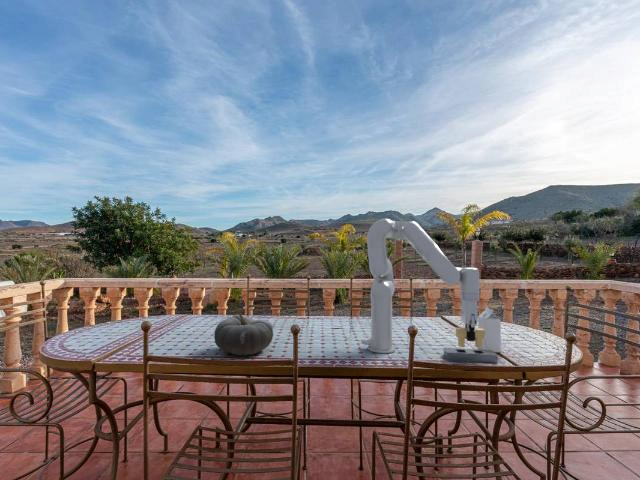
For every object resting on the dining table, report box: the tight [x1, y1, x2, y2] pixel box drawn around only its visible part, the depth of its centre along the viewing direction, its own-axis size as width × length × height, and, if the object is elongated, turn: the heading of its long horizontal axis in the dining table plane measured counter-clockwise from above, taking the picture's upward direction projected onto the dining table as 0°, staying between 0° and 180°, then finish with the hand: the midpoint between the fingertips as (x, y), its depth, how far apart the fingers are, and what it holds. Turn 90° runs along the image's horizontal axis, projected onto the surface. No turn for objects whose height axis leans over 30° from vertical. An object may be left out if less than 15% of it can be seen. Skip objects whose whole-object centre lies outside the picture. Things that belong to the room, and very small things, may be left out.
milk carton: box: [477, 307, 502, 353], centre depth 169 cm, size 7×7×19 cm
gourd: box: [213, 312, 274, 357], centre depth 163 cm, size 25×25×17 cm
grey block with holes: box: [443, 347, 499, 364], centre depth 156 cm, size 20×8×3 cm, turn 81°
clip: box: [455, 327, 485, 349], centre depth 157 cm, size 11×3×8 cm, turn 81°
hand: (469, 339), depth 157 cm, fingers closed on clip, 3 cm apart
